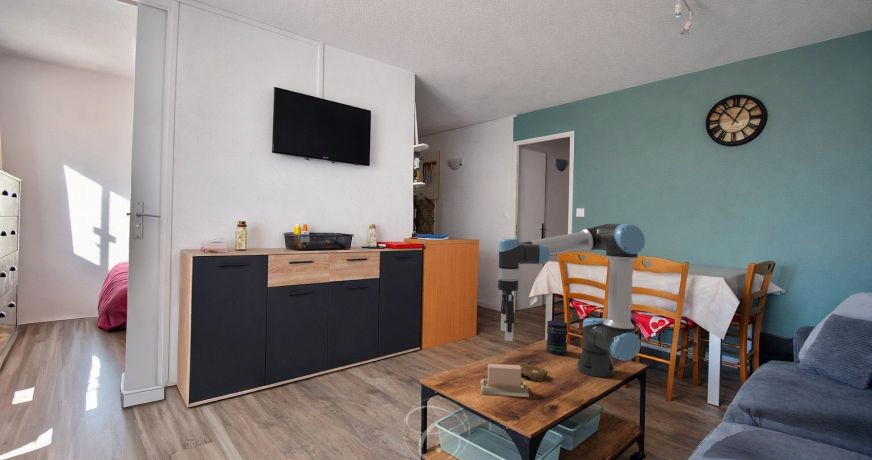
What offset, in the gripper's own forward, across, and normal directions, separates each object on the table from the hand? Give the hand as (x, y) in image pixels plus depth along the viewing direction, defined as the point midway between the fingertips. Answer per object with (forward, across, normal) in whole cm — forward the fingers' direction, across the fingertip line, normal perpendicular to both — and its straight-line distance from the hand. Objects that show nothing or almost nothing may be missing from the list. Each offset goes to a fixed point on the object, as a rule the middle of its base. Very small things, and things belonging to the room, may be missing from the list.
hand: (506, 335), depth 148 cm
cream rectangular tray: (+21, 0, 0) cm, 21 cm away
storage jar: (+21, -50, +32) cm, 63 cm away
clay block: (+20, 0, 0) cm, 20 cm away
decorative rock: (+21, -17, +12) cm, 30 cm away
